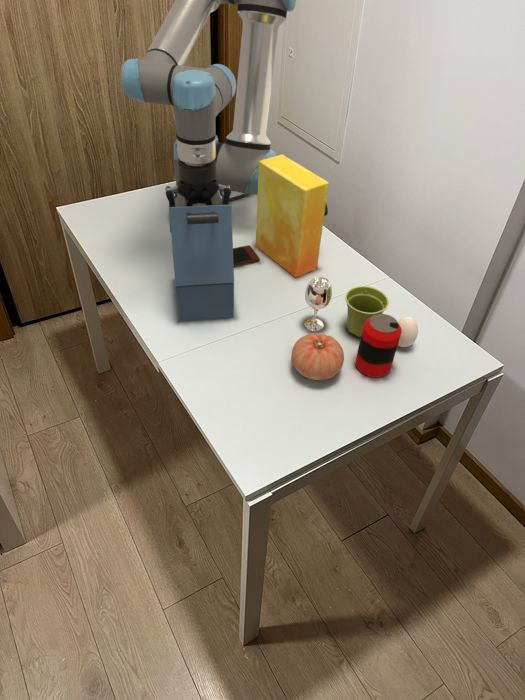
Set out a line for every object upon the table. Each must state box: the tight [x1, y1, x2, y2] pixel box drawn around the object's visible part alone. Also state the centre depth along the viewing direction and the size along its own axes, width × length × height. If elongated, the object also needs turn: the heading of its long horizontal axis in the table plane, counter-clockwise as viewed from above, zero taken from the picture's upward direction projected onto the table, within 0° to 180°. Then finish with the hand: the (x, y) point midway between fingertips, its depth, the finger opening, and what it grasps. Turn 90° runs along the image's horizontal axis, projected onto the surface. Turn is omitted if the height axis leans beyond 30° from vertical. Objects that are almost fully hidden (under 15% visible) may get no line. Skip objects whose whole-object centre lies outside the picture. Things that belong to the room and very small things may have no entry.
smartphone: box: [233, 245, 261, 267], centre depth 139 cm, size 7×1×15 cm
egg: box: [397, 316, 419, 348], centre depth 116 cm, size 5×5×8 cm
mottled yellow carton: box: [255, 154, 330, 278], centre depth 134 cm, size 18×12×24 cm
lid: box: [168, 204, 235, 287], centre depth 108 cm, size 16×13×7 cm
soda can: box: [355, 313, 402, 378], centre depth 109 cm, size 8×8×12 cm
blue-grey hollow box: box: [175, 282, 235, 323], centre depth 124 cm, size 16×13×10 cm
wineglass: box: [303, 275, 333, 332], centre depth 118 cm, size 6×6×12 cm
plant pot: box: [344, 285, 390, 338], centre depth 119 cm, size 9×9×9 cm
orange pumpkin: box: [290, 332, 345, 381], centre depth 109 cm, size 11×11×8 cm
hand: (201, 257), depth 121 cm, fingers closed on lemon, 6 cm apart
